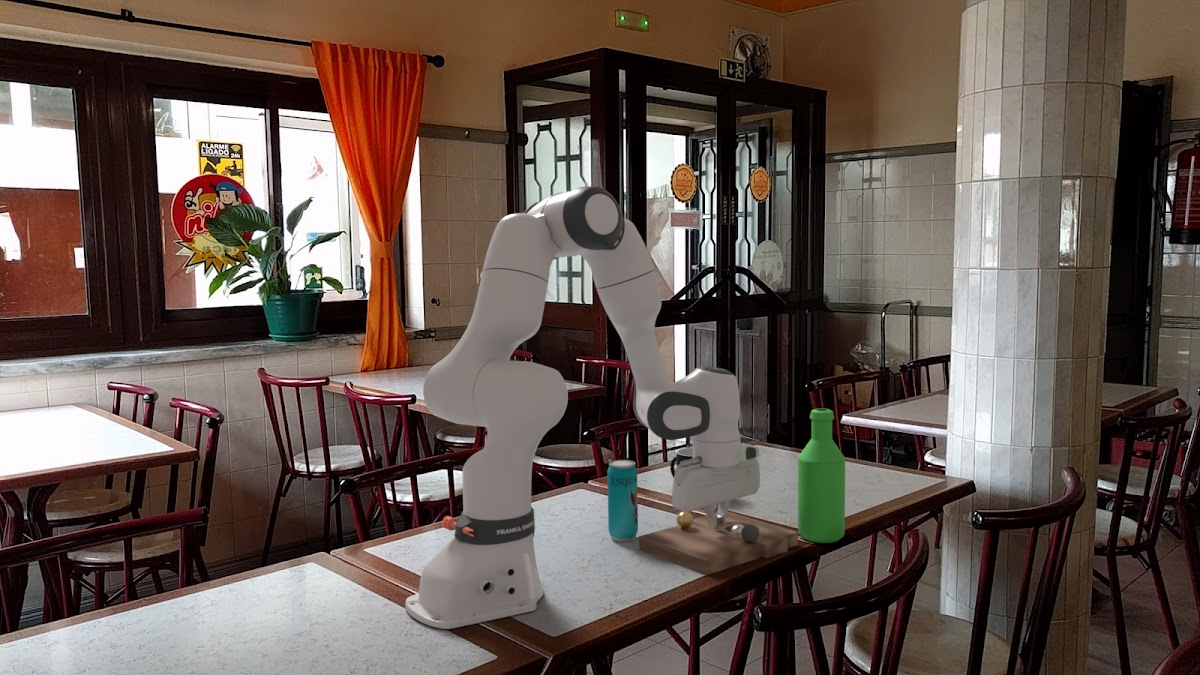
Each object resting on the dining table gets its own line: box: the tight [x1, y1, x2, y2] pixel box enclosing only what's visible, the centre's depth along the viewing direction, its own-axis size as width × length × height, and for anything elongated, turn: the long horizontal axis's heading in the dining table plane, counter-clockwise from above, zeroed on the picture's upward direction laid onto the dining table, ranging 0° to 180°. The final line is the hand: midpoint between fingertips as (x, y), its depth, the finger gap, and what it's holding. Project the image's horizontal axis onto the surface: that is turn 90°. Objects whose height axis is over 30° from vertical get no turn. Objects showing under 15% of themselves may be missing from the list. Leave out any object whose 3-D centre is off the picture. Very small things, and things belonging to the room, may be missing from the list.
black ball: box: [741, 525, 759, 543], centre depth 167 cm, size 3×3×3 cm
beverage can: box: [606, 459, 639, 543], centre depth 178 cm, size 6×6×15 cm
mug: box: [669, 447, 693, 479], centre depth 209 cm, size 12×9×10 cm
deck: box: [638, 511, 799, 576], centre depth 173 cm, size 24×20×2 cm
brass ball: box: [676, 511, 694, 528], centre depth 177 cm, size 3×3×3 cm
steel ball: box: [730, 525, 744, 533], centre depth 176 cm, size 3×3×3 cm
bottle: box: [797, 408, 846, 544], centre depth 176 cm, size 9×9×25 cm
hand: (716, 525), depth 172 cm, fingers closed
